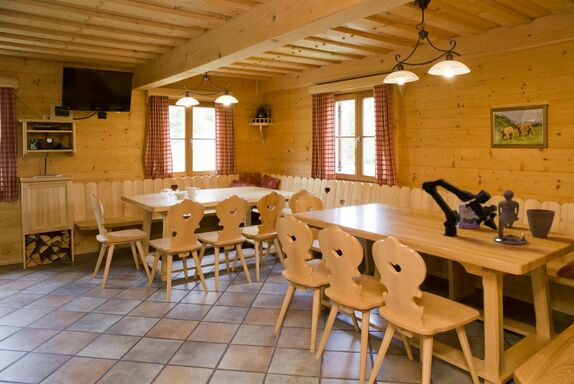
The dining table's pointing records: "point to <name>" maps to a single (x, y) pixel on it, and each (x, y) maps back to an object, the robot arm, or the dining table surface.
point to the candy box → (467, 217)
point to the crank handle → (508, 237)
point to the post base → (511, 241)
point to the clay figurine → (508, 209)
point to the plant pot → (540, 221)
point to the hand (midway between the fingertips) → (497, 229)
